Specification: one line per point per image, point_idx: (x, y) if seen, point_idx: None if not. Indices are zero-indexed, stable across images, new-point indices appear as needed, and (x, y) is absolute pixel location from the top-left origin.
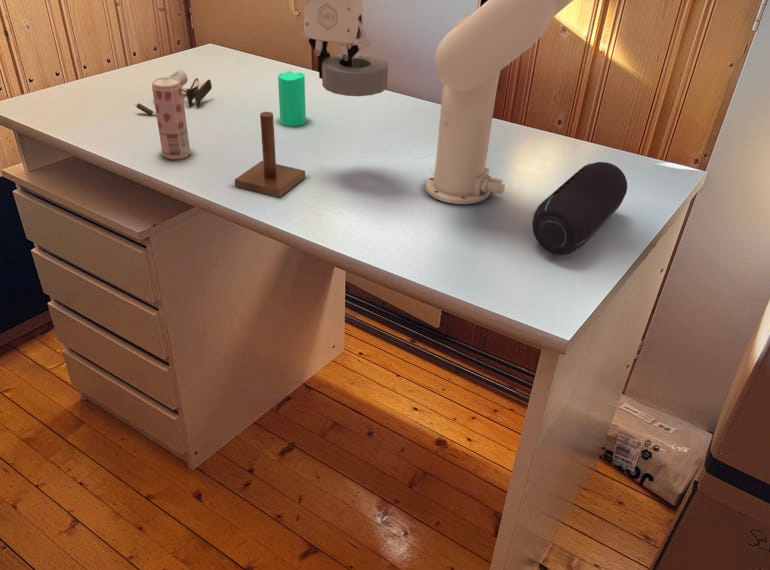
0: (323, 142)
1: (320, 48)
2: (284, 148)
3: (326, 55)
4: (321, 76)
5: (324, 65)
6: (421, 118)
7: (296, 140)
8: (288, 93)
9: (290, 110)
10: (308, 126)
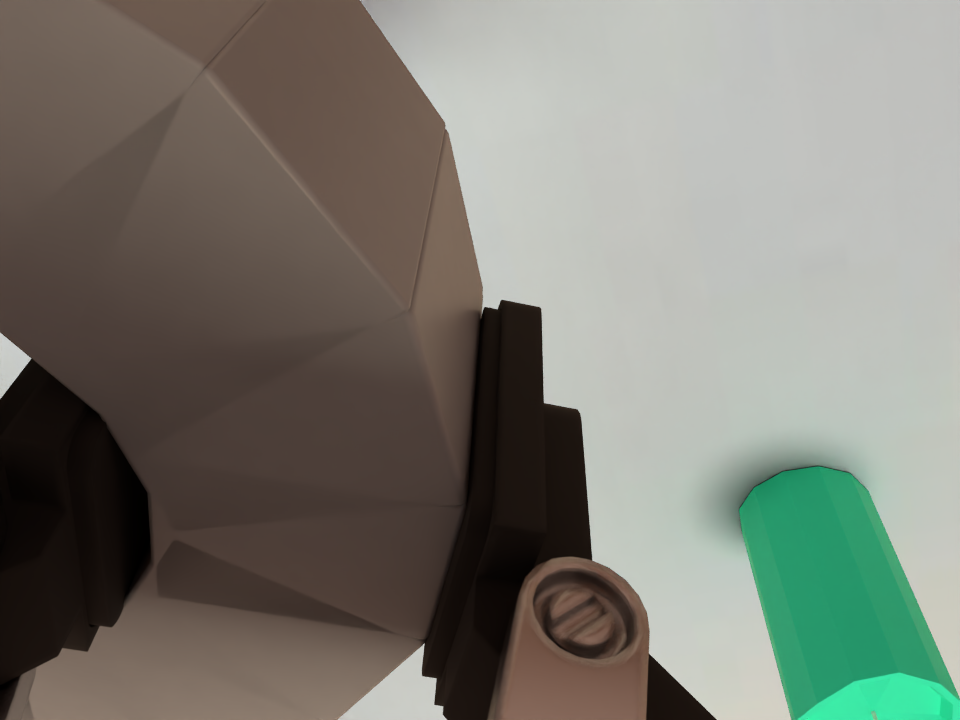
0: (605, 342)
1: (516, 682)
2: (816, 220)
3: (445, 619)
4: (502, 308)
5: (307, 205)
6: None
7: (757, 331)
8: (867, 605)
9: (830, 529)
10: (718, 483)
